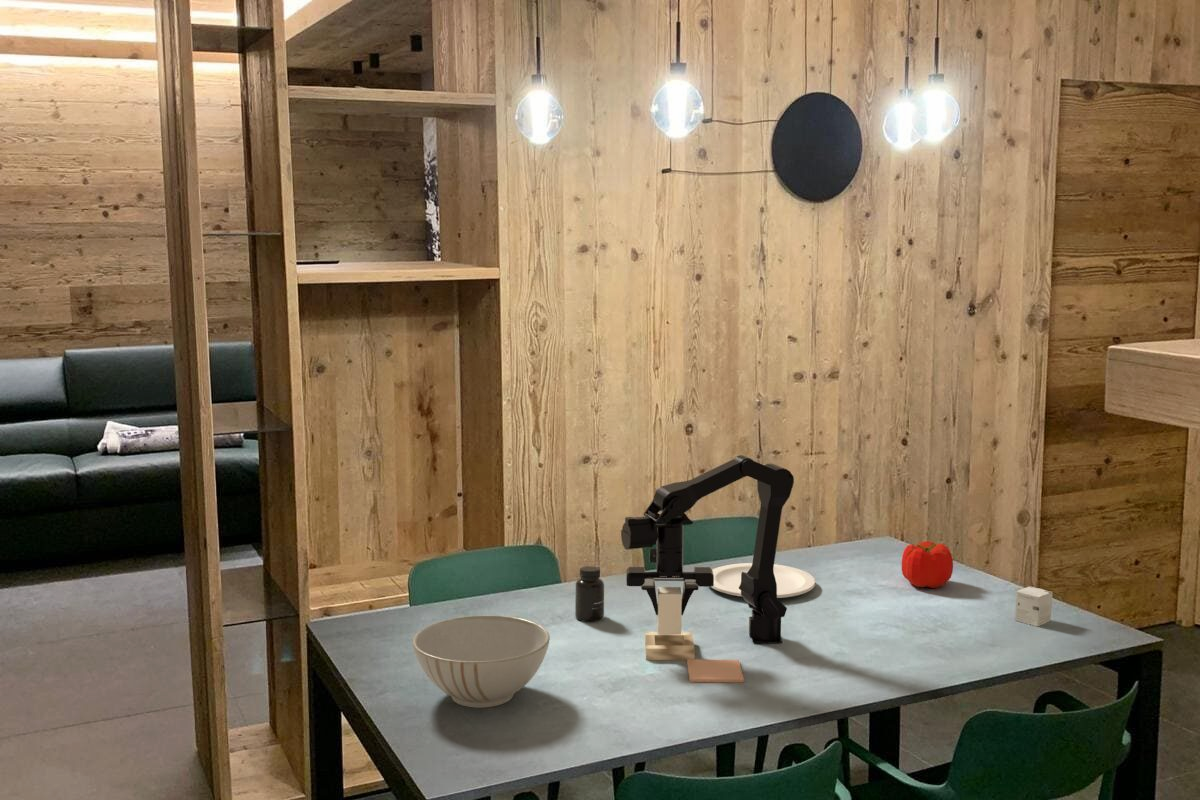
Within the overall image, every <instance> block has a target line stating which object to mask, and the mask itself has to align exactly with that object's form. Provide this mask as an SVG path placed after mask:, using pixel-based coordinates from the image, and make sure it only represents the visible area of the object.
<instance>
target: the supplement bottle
mask: <svg viewBox="0 0 1200 800" xmlns="http://www.w3.org/2000/svg"><path fill="white" fill-rule="evenodd" d="M600 577H601V568H600V567H598V566H594V565H590V566H587V565H586V566H582V567H580V568H579V578H578V579H577V580H576V582H575V589H574V590H575V603H574V605H575V606H574V607H575V611H574V612H575V618H576V619H577V620H579V621H582V622H589V623H591V622H597V621H598V622H599V621H601V620H603V618H604V616H605V582H604V580H603V579H601V578H600Z"/></svg>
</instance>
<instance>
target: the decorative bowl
mask: <svg viewBox="0 0 1200 800" xmlns="http://www.w3.org/2000/svg"><path fill="white" fill-rule="evenodd" d="M549 644H550V633H549V632H548V630H547V629H546V628H545V627H544V626H542V625H540V624H539V623H537V622H534V621H531V620H529V619H525V618H520V617H515V616H509V615H494V614H493V615H492V614H491V615H489V614H484V615H483V614H481V615H480V614H479V615H469V616H468V615H467V616H460V617H453V618H449V619H445V620H441V621H439V622H435V623H432V624H429V625H427V626H425V627H424V628H422V629H421V630H419V631H418V632H417V633H416V634H415V635H414V637H413V639H412V647H413V650H414V654H415V657H416V659H417V662H418V664H419V665H420V667H421V669H422V671H423V673H424V674H425V675H426V677H427V678H428V679H429V680H430V682H431V683H432V684H433V685H434V686H435V687H436V688H437V689H439V690H441V692H443V693H444V694H446V695H447V696H450V697H451V700H452V701H453V702H454V703H456V704H458V705H460V706H463V707H468V708H477V709H478V708H479V709H480V708H483V709H484V708H493V707H497V706H501V705H503V704H506V703H508V702H509V701H510V700H512V699H513V697H514V694H515V693H517V692H518V691H520V690H521V689H523V688H524V687H525V686H526V685H527V684H528V683H529V682H530V681H531V680H532V679H533V677H534V676H535V675H536V673H538V670H539V669H540V668H541V665H542V663H543V662H544V660H545V658H546V654H547V651H548V649H549V646H550V645H549Z"/></svg>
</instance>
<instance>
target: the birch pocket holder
mask: <svg viewBox="0 0 1200 800" xmlns="http://www.w3.org/2000/svg"><path fill="white" fill-rule="evenodd" d="M644 647H645V661H647V660H648V661H653V660H654V661H655V660H658V661H687V660H696V659H695V657H696V656H695V654H696V649H695V643H694V636H693V632H692V631H681V635H677V634H658V631H645V633H644Z"/></svg>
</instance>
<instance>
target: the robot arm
mask: <svg viewBox="0 0 1200 800" xmlns="http://www.w3.org/2000/svg"><path fill="white" fill-rule="evenodd" d="M746 477H748V478H749V477H750V478H751V479H753V480H756V481H757V485H756V486H757V488H756V489H757V493H758V497H759V502H760V509H759V514H758V523H757V529H756V537H755V542H754V551H753V559H752V562H751V563H752V566H751V568H750V570H749V571H748V572H747V573H746V572H742V574H741V584H740V586H739V589H740V590H741V596H742V599H743V600H744V601H745V602H747V605H748V608H749V609H751V616H749V617H748V635H749V638H750V639H751V640H752V643H754V644H782V643H783V640H782V637H781V636H782V618H784V617H785V616H786V613H787V611H788V610H787V609H788V608H787V606H785V605H784V604H783V603H782V602H781V601H780V600H779V598H777V584H776V580H775V576H774V571H773V568H774V564H775V560H776V553H777V546H778V540H779V533H780V527H781V526H780V525H781V520H782V512H783V508H784V506H785V504H786V503H787V501H788V500H789V499H790V496H791V493H792V492H793V491H792V489H793V488H794V487H793V486H794V483H795V479H794V475H793V474H792V472H791V471H790V470H788V469H787V468H785V467H782V466H780V465H778V464H775V463H772V462H770V463H766V464H765V465H764V464H763V463H760V462H758V461H756V460H755V461H754V459H753V458H750V457H748V456H745V455H741V454H740V455H737V456H735V457H734V458H733V459H731V460H729V461H727V462H724V463H723V464H721V465H719V466H716V467H714V468H712V469H710V470H708V471H706V472H704V473H701V474H700V475H698V476H696V477H694V478H692V479H688V480H684V481H676V482H672V483H669V484H665V485H662V486H660V487H659V488H657V489H656V490H655V493H654V496H653V499H652V500H651V502H650V504H649V506H648V507H647V508H646V509H645V511H644V512H643V516H634V517H633V516H625V518H624V523H623V524H622V529H621V530H620V535H621V536H620V537H621V542H622V546H623V548H624V550H639V549H647V548H649V550H648V551H649V552H648V556H649V557H648V563H649V564H655V571H645V570H646V569H645V566H628V567H627V568H626V574H625V575H626V576H625V577H626V586H628V587H641V590H642V591H646V592H647V595H648V597H649V599H650V600H651V604H652V606H653V607H652V608H653V610H654V612H655V616H657V615H658V595H657V590H656V583H655V581H656V582H659V581H660V582H661V581H662V582H667V581H669V582H671V581H672V582H676V581H677V582H683V584H682V585H683V586H682V592H681V593H682V611H681V616H684V613H685V610H686V607H687V606H688V603H689V601H690V598H691V596H692V595H693V593H694V591H699V587H701V588H702V587H703V588H704V587H709V588H711V587H712V586H714V575H713V571H712V570H713V568H711V567H708V566H694V568H693V571H684V526H691V525H693V524H694V522H693V520H692V519H690V518H689V517H688V515H687V514H686V513H687V512H688V511H690V509H692V508H693V507H694V506H695V505H696V503H698V501H699V500H701V499H702V498H705V497H706V496H709V495H710V494H713V493H715V492H716V491H719V490H720V489H721V490H722V489H723V488H725V487H727V486H729V485H732V484H733V483H735V482H737V481H739V480H741V479H744V478H746ZM659 512H661V513H659ZM654 545H656V548H653V547H654ZM741 596H740V597H741Z"/></svg>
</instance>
